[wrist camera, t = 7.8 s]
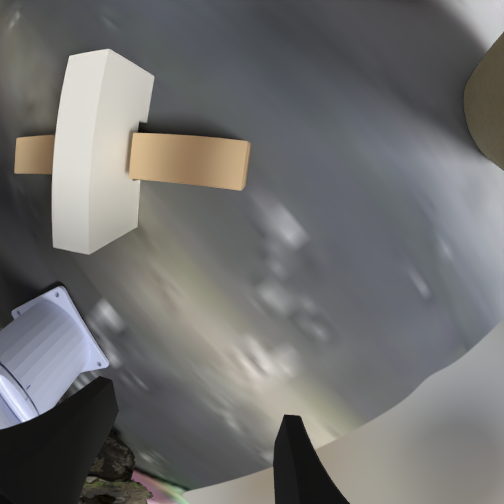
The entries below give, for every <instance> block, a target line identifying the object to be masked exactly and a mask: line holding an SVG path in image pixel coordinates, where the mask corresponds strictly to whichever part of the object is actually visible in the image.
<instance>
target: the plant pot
mask: <svg viewBox="0 0 504 504" xmlns="http://www.w3.org/2000/svg"><path fill="white" fill-rule="evenodd" d="M463 105H464V113H465V118H466V122H467V125H468V129H469V131H470V134H471V136H472V138H473V140H474V142H475V143H476V145H477V147H478V148H479V149H480V151H481V152H482V153H483V154H484V155H485V156H486V157H487V158H488V159H490V160H491V161H492V162H493V163H494V164H496V165H497V166H498V167H499V168H501V169H502V170H503V171H504V32H503V33H502V35H501V36H500V37H499V38H498V39H497V40H496V42H495V43H494V44H493V45H492V47H491V48H490V49H489V50H488V52H487V53H486V54H485V56H484V57H483V58H482V60H481V61H480V63H479V64H478V65H477V67H476V68H475V70H474V71H473V73H472V74H471V76H470V78H469V79H468V81H467V83H466V86H465V90H464V98H463Z"/></svg>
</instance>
